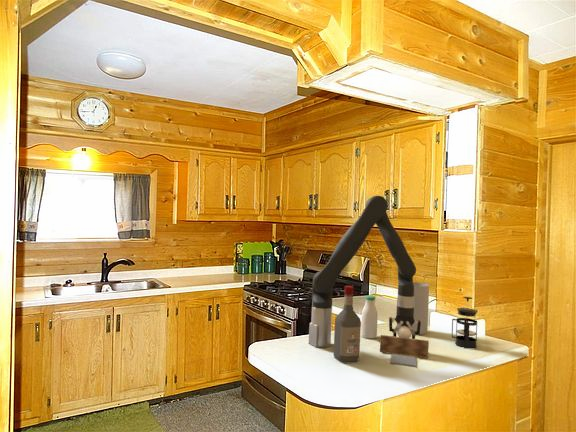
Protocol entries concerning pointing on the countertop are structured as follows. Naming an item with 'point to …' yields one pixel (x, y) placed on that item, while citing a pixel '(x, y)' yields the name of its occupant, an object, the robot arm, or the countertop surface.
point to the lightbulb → (404, 332)
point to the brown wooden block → (404, 346)
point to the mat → (403, 360)
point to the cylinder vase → (421, 306)
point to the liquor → (347, 331)
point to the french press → (466, 327)
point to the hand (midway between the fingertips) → (403, 341)
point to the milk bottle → (369, 319)
